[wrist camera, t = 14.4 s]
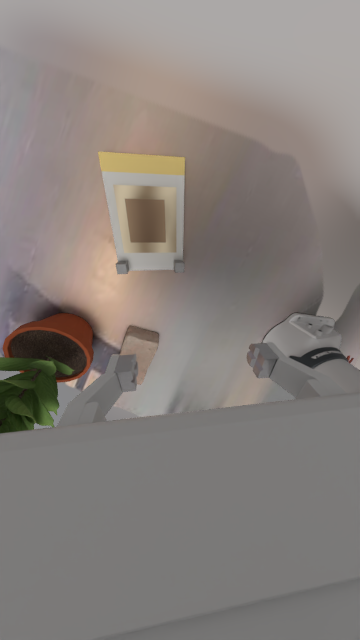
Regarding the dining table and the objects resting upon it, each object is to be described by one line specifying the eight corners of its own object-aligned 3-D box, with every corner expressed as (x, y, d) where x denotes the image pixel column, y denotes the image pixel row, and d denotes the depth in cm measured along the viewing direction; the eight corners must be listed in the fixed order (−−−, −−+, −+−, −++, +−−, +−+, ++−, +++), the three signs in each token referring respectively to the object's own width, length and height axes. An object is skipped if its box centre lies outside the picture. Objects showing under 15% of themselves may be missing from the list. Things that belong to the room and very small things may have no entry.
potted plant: (15, 312, 34) (-387, 570, 9) (86, 298, 35) (-96, 502, 9) (54, 360, 42) (-97, 570, 17) (111, 348, 43) (50, 532, 17)
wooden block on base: (175, 189, 25) (184, 175, 18) (175, 251, 30) (182, 260, 22) (115, 186, 24) (98, 170, 17) (125, 251, 28) (115, 261, 21)
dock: (181, 163, 26) (188, 149, 21) (180, 265, 34) (185, 273, 29) (103, 159, 24) (90, 142, 19) (122, 267, 32) (116, 275, 27)
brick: (128, 324, 40) (125, 335, 36) (160, 332, 43) (160, 343, 39) (114, 368, 47) (110, 382, 43) (142, 373, 50) (141, 386, 46)
